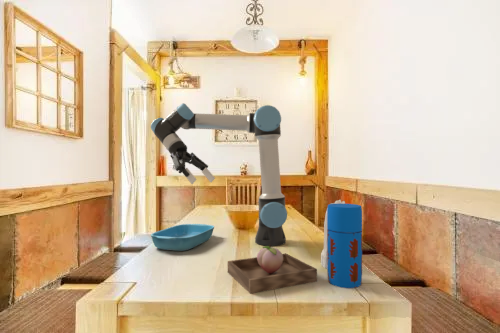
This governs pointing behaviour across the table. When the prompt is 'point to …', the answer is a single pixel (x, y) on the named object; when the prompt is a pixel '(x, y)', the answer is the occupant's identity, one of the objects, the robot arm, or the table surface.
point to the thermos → (344, 245)
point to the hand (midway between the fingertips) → (203, 181)
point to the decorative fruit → (270, 259)
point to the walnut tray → (260, 280)
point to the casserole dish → (182, 236)
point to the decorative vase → (324, 252)
